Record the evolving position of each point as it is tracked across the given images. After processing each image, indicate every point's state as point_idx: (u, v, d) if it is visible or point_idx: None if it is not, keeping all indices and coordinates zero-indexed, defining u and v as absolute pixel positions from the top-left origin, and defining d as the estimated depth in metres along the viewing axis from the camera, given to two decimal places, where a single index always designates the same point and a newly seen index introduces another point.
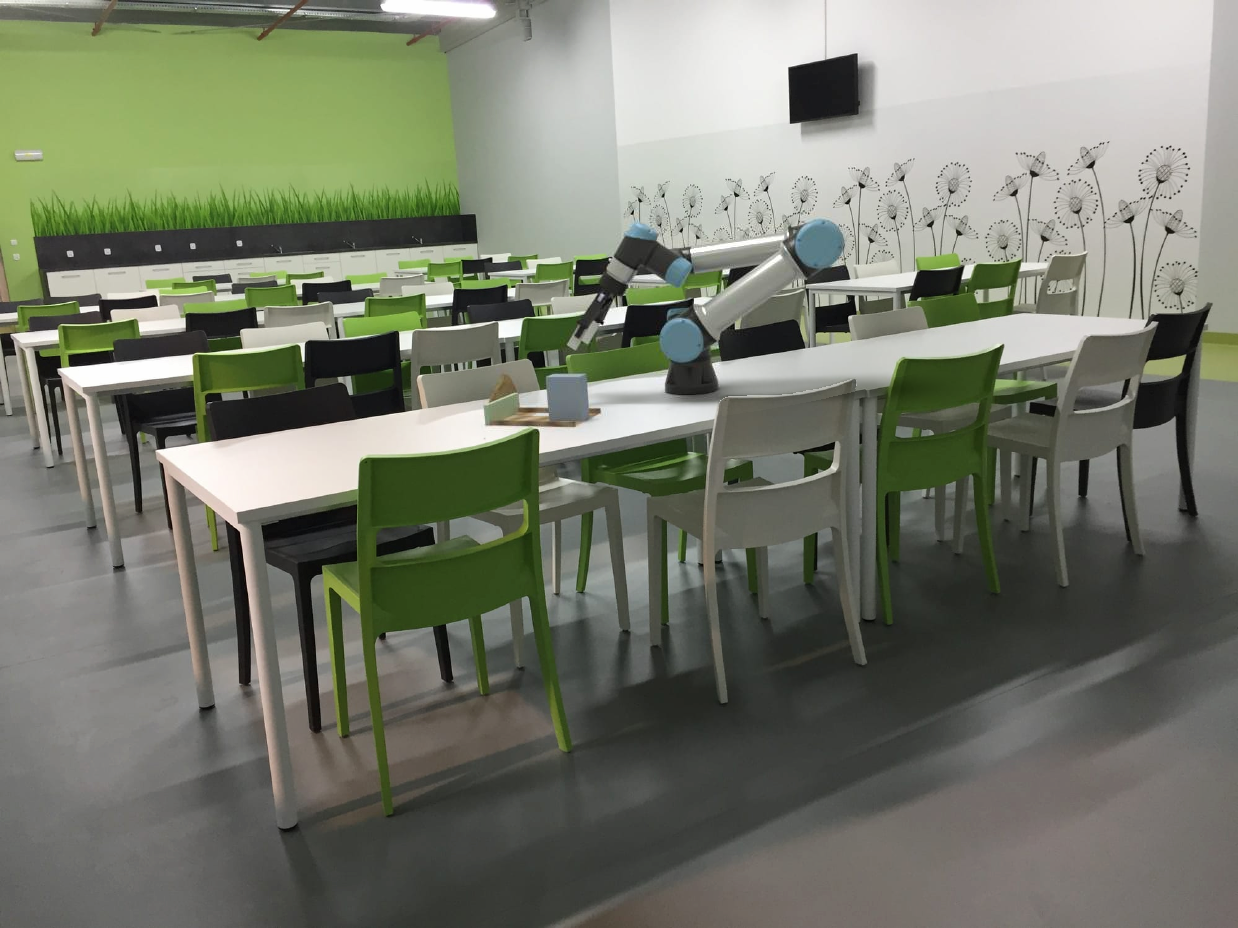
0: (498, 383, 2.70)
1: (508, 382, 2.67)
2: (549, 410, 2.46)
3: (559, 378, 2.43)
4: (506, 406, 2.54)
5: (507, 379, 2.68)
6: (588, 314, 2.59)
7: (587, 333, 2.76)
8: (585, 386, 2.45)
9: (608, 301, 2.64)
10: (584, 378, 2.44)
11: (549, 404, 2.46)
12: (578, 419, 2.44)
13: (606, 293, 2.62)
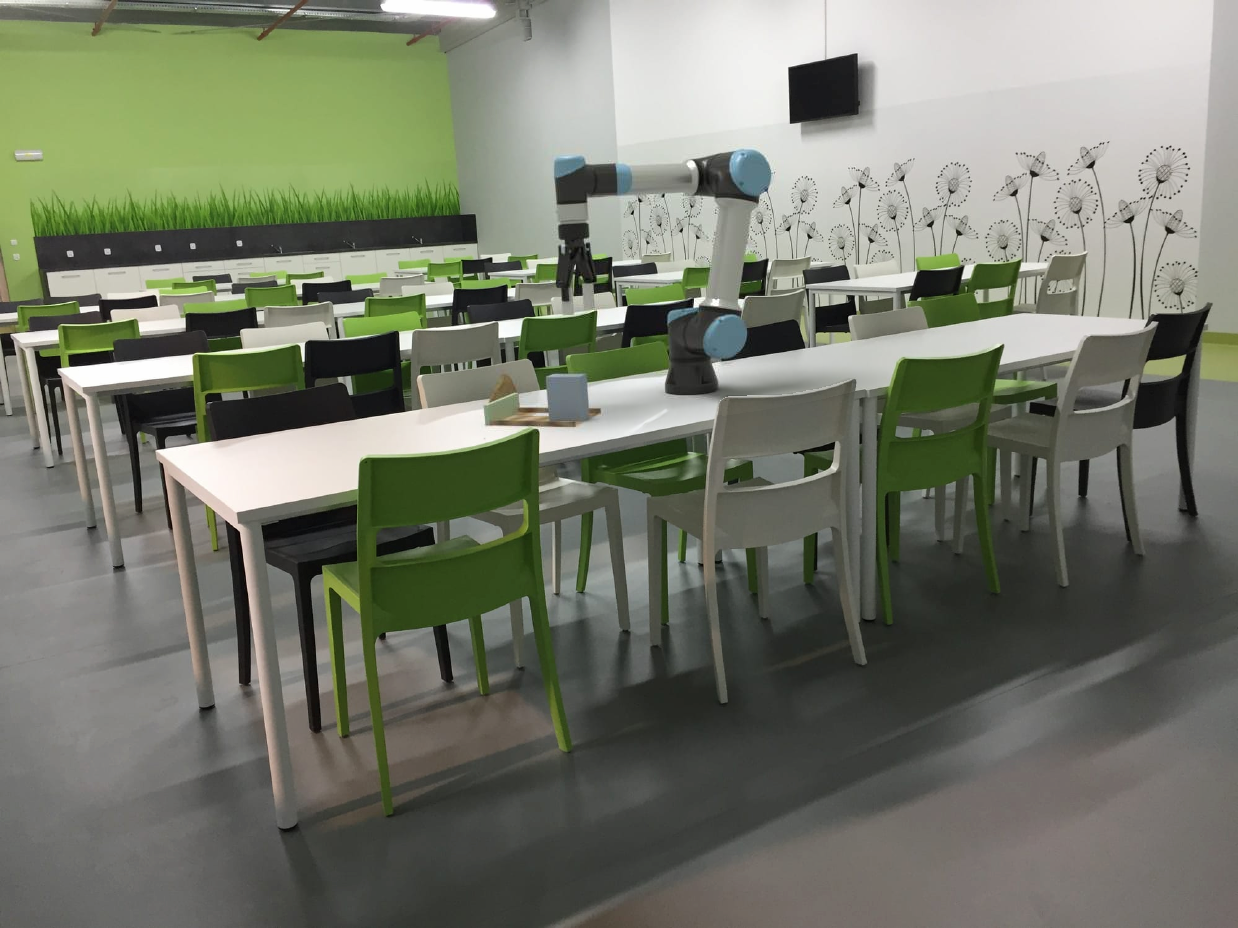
0: (498, 383, 2.70)
1: (508, 382, 2.67)
2: (549, 410, 2.46)
3: (559, 378, 2.43)
4: (506, 406, 2.54)
5: (507, 379, 2.68)
6: (560, 271, 2.36)
7: (586, 299, 2.51)
8: (585, 386, 2.45)
9: (577, 249, 2.40)
10: (584, 378, 2.44)
11: (549, 404, 2.46)
12: (578, 419, 2.44)
13: (568, 242, 2.39)
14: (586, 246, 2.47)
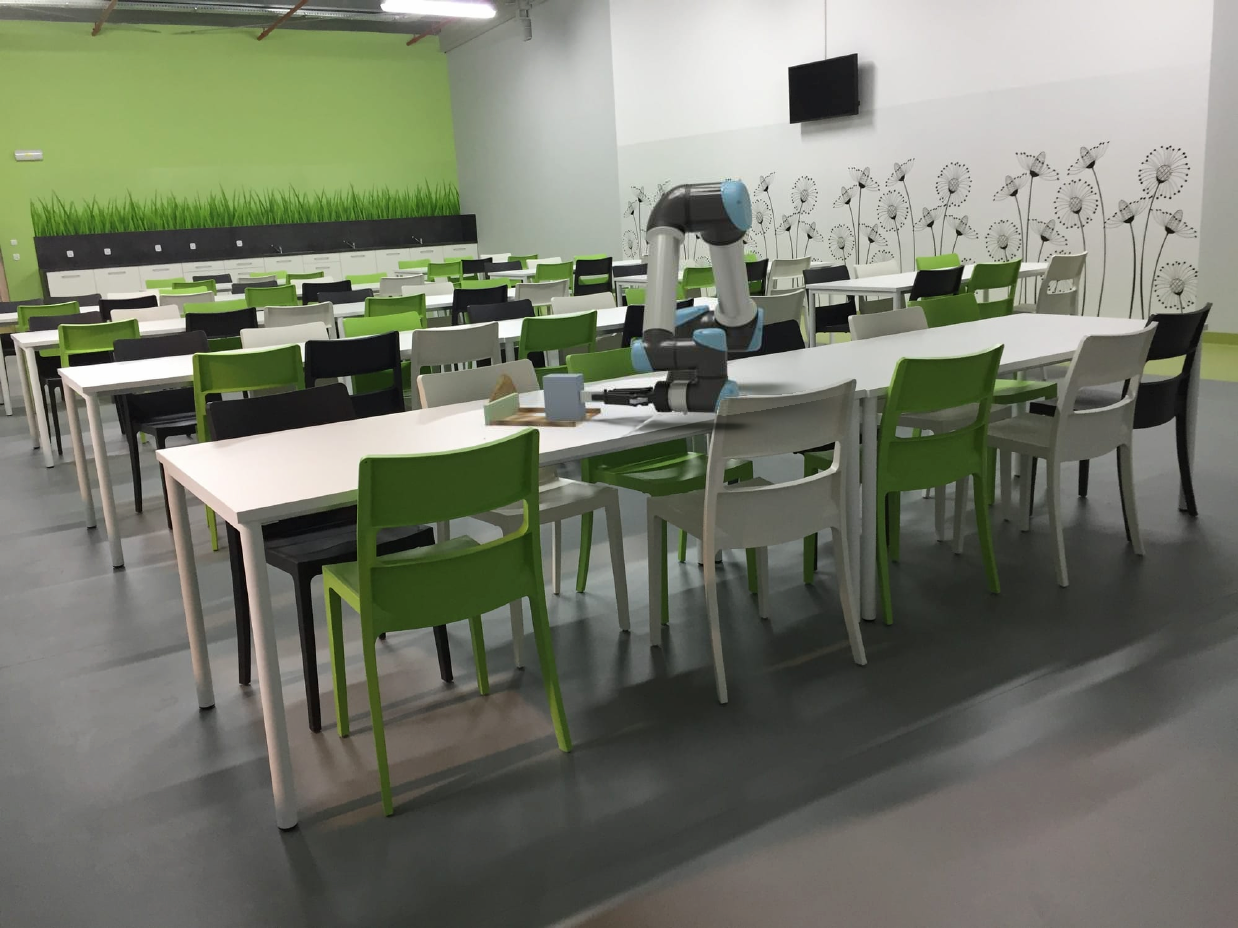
0: (498, 383, 2.70)
1: (508, 382, 2.67)
2: (546, 410, 2.46)
3: (556, 378, 2.43)
4: (506, 406, 2.54)
5: (507, 379, 2.68)
6: None
7: None
8: (582, 386, 2.45)
9: None
10: (581, 378, 2.44)
11: (546, 404, 2.46)
12: (575, 419, 2.44)
13: None
14: None
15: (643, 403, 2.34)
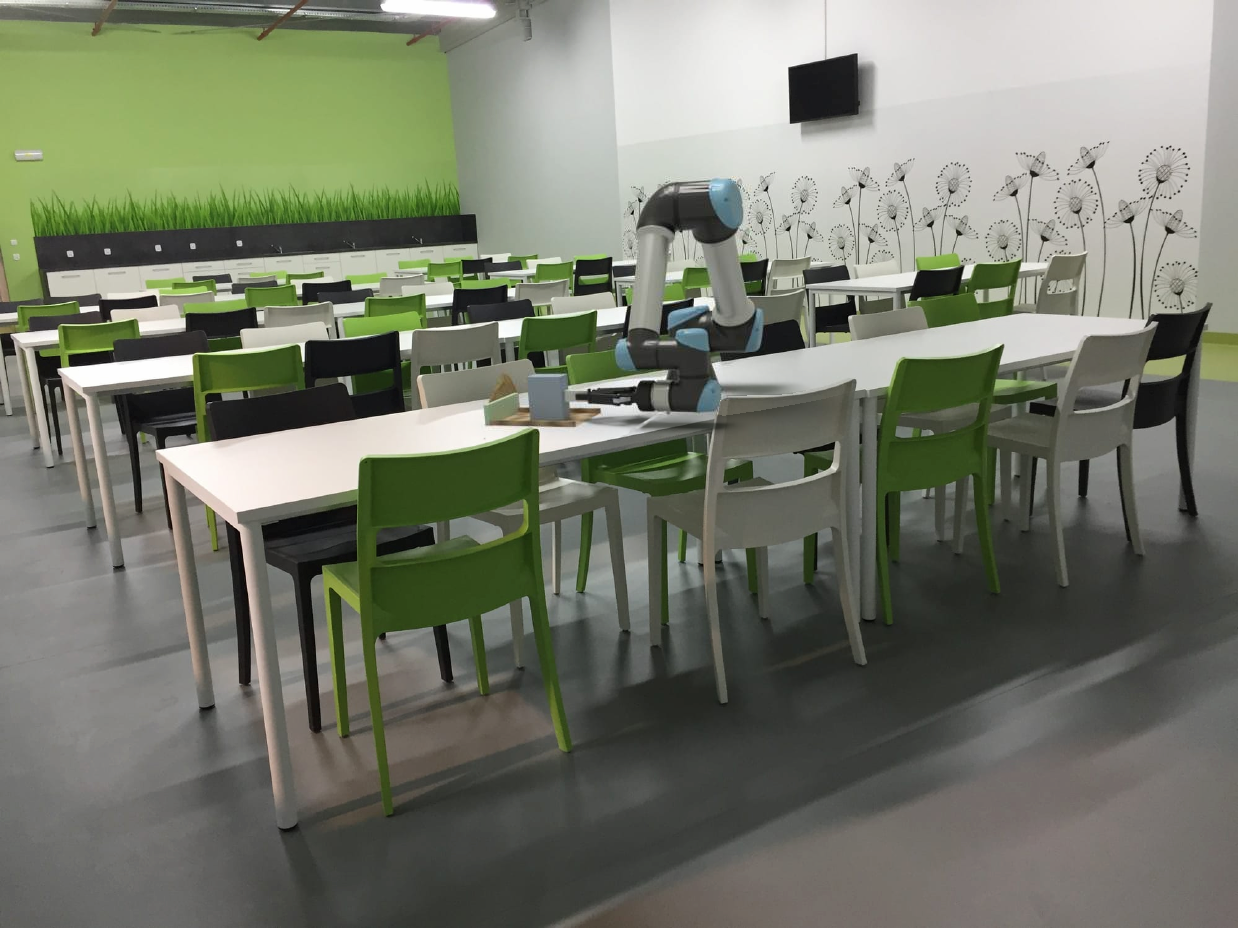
0: (498, 383, 2.70)
1: (508, 382, 2.67)
2: (530, 410, 2.48)
3: (540, 378, 2.45)
4: (506, 406, 2.54)
5: (507, 379, 2.68)
6: None
7: None
8: (566, 386, 2.46)
9: None
10: (565, 378, 2.46)
11: (530, 404, 2.48)
12: (559, 419, 2.46)
13: None
14: None
15: (626, 402, 2.36)
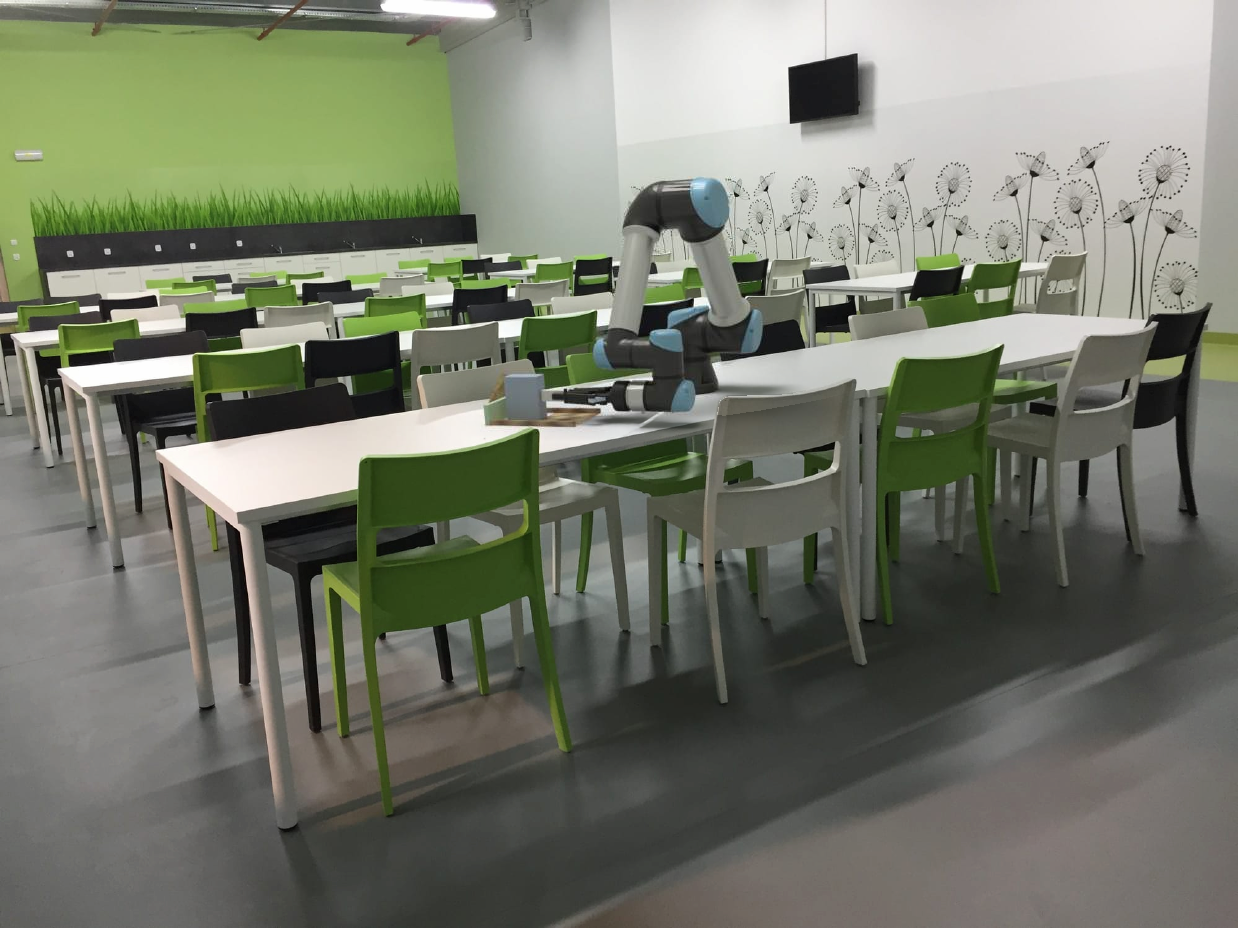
0: (498, 383, 2.70)
1: None
2: (507, 410, 2.50)
3: (517, 378, 2.47)
4: None
5: None
6: None
7: None
8: (542, 386, 2.49)
9: None
10: (541, 378, 2.48)
11: (507, 404, 2.50)
12: (535, 418, 2.48)
13: None
14: None
15: (601, 402, 2.38)
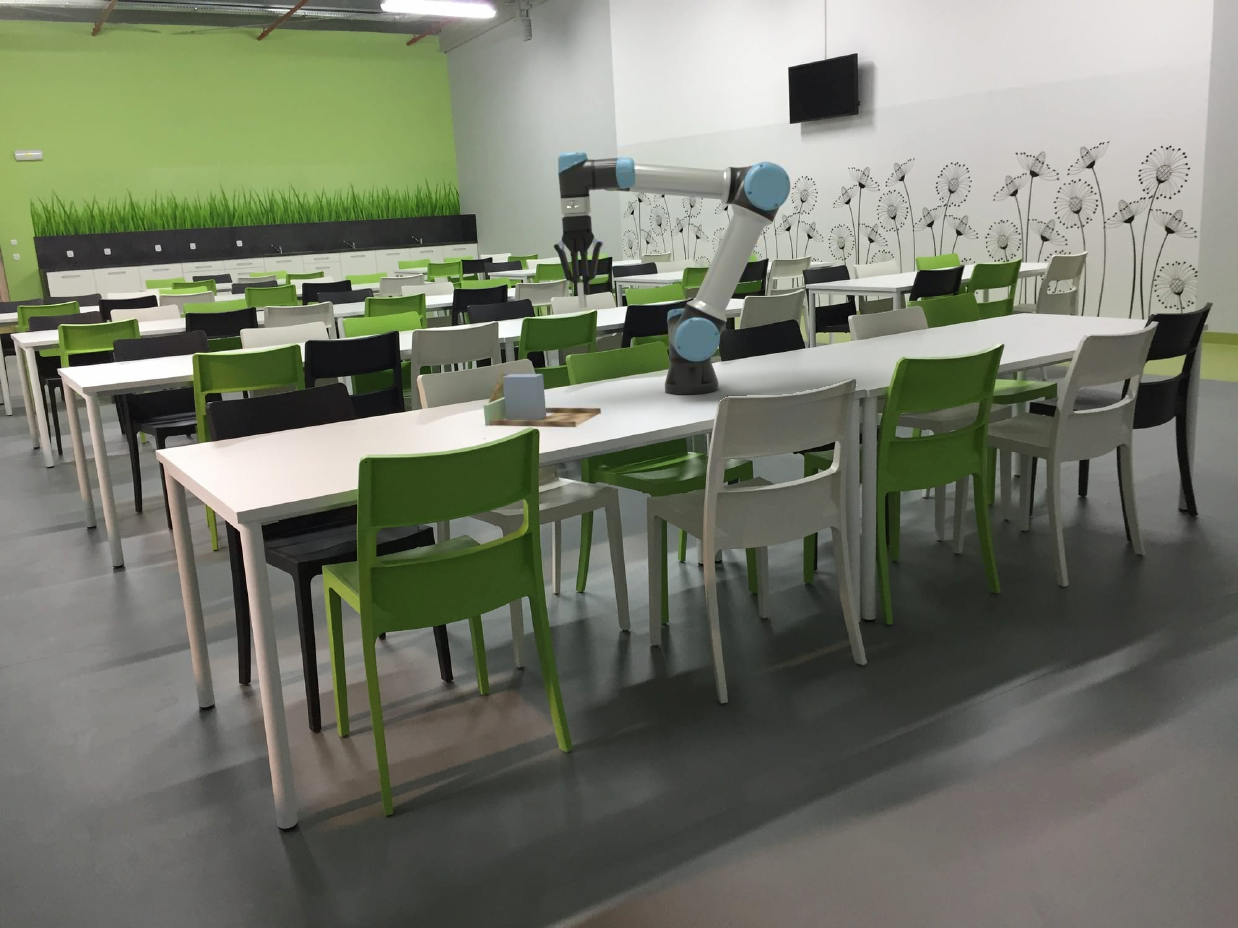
0: (498, 383, 2.70)
1: None
2: (506, 410, 2.50)
3: (516, 378, 2.47)
4: None
5: None
6: (596, 267, 2.58)
7: None
8: (541, 386, 2.49)
9: None
10: (540, 378, 2.48)
11: (506, 404, 2.50)
12: (534, 418, 2.48)
13: None
14: None
15: (562, 240, 2.58)
